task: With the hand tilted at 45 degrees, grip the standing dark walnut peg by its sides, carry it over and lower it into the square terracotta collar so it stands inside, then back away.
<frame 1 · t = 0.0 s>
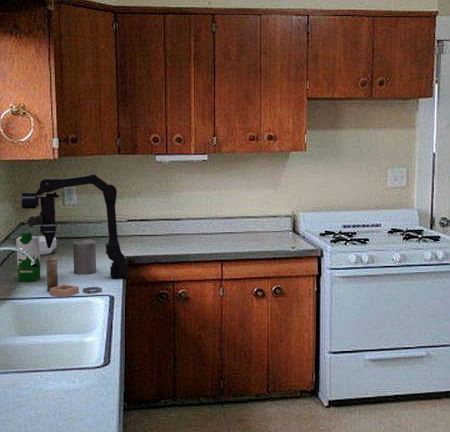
hand: (49, 246, 270), 15 cm above the worktop, tool pointing down, fingers open, 9 cm apart
washer: (92, 291, 253), on the worktop
collar: (64, 293, 249), on the worktop
pillar candle: (85, 272, 288), on the worktop
peg: (52, 291, 253), on the worktop
milk carton: (29, 280, 273), on the worktop
paper bowls: (41, 253, 336), on the worktop
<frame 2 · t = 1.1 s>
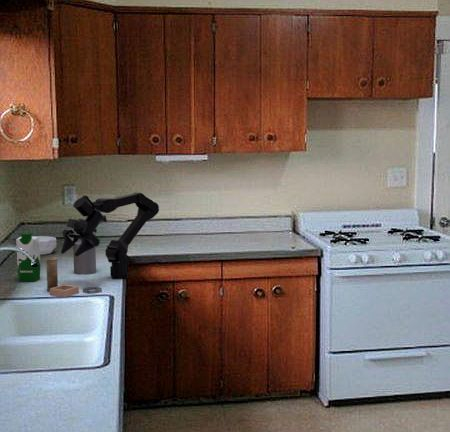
hand: (68, 254, 258), 13 cm above the worktop, tool tilted 45°, fingers open, 9 cm apart
nothing on the worktop moved.
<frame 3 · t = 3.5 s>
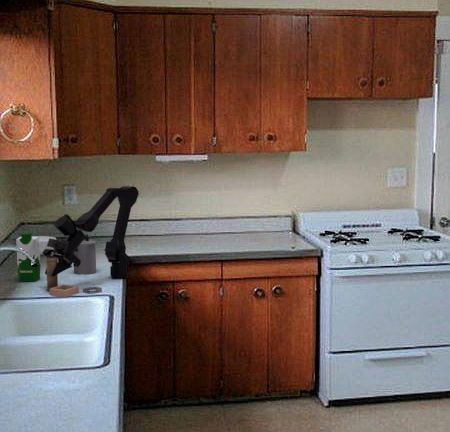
hand: (49, 275, 251), 7 cm above the worktop, tool tilted 45°, fingers closed on peg, 4 cm apart
peg: (52, 291, 253), on the worktop, touching gripper
everything else where it was.
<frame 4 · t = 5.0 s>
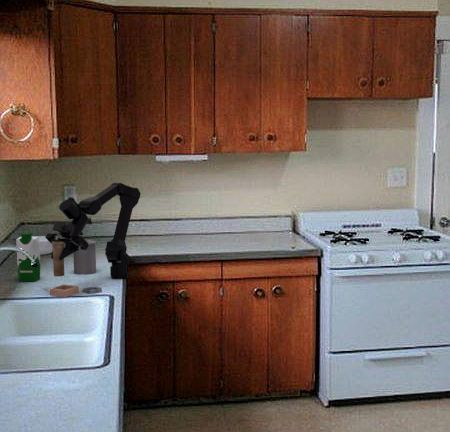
hand: (55, 259, 247), 13 cm above the worktop, tool tilted 45°, fingers closed on peg, 4 cm apart
peg: (59, 275, 249), point 7 cm above the worktop, touching gripper
everything else where it was.
when the fingers open (8 cm above the worktop, at t = 6.8 s): peg drops 1 cm, resting in collar.
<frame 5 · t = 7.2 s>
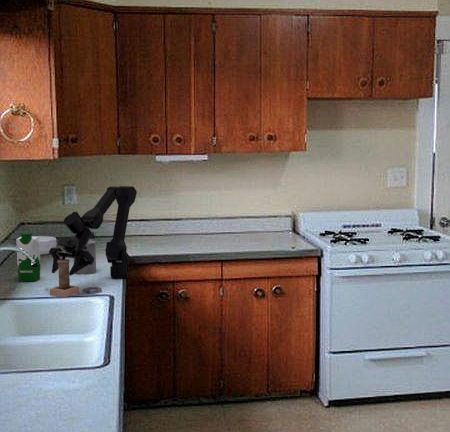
hand: (61, 273, 246), 8 cm above the worktop, tool tilted 45°, fingers open, 8 cm apart
peg: (64, 293, 249), resting in collar
everything else where it was.
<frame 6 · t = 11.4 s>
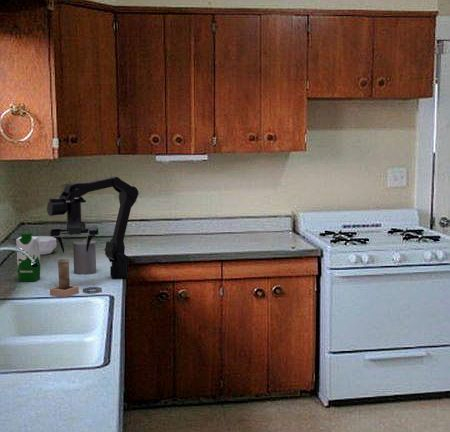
hand: (75, 252, 264), 13 cm above the worktop, tool pointing down, fingers open, 9 cm apart
nothing on the worktop moved.
at the end: peg 0.0 cm off-centre on the collar, point 0.0 cm above the collar's base; peg tilted 0°; the gripper is holding nothing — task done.
